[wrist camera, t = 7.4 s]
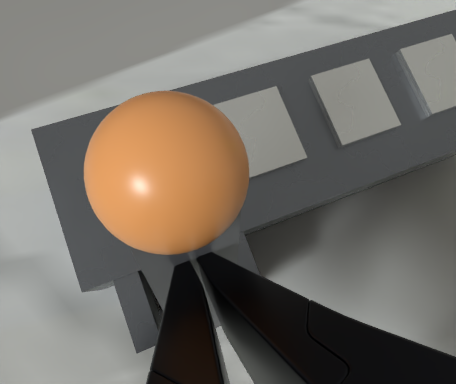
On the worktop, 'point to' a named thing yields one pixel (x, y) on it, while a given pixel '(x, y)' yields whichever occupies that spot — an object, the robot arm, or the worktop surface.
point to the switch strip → (282, 143)
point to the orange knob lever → (168, 183)
